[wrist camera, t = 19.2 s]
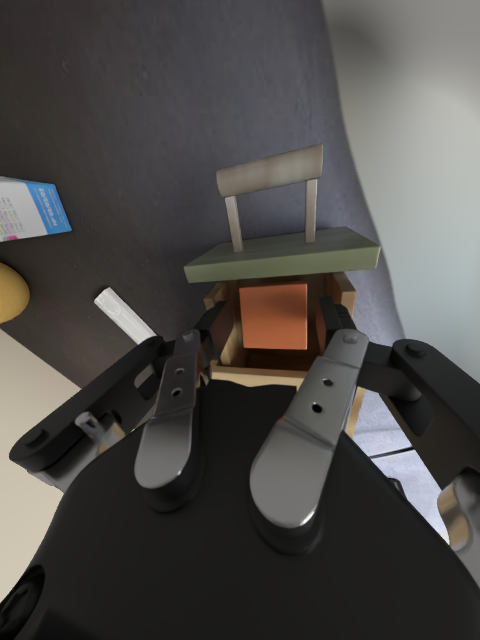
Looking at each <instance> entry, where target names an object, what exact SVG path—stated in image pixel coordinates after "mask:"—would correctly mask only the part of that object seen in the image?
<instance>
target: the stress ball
mask: <svg viewBox="0 0 480 640" xmlns="http://www.w3.org/2000/svg"><path fill="white" fill-rule="evenodd" d="M29 298H30V292H29V288H28V285H27V283H26V282H25V280H24V279H23V278H22V276H21V275H20V274H18V273H17V272H16V271H15V270H13V269H12V268H10V267H9V266H7V265H5V264H3V263H1V262H0V323H3V322H6V321H8V320H10V319H12V318H14V317H16V316H17V315H19V314H20V313H21V312H22V311H23V310H24V309H25V308H26V306H27V304H28V302H29Z"/></svg>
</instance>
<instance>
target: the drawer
mask: <svg viewBox="0 0 480 640" xmlns="http://www.w3.org/2000/svg"><path fill="white" fill-rule="evenodd" d="M322 165H323V145H322V144H317V145H313V146H309V147H305V148H301V149H297V150H293V151H289V152H286V153H282V154H278V155H274V156H270V157H266V158H262V159H258V160H254V161H250V162H247V163H243V164H239V165H235V166H231V167H227V168H223V169H219V170H218V171H217V173H216V179H217V186H218V190H219V192H220V195H221V196H222V198H225V202H226V208H227V214H228V220H229V226H230V231H231V237H232V242H227V243H220V244H219V245H217V246H215V247H214V248H212V249H211V250H209V251H208V252H206V253H204V254H203V255H201V256H200V257H198V258H197V259H195V260H194V261H192V262H190V263H189V264H187V265H186V266H184V271H185V274H186V277H187V280H188V283H198V282H211V281H219V282H218V283H217V284H216V285H215V286H214V287H213V288H212V290H211V291H210V292H209V293H208V294H207V295H206V296H205V298H204V303H205V306H206V310H207V311H208V310H209V309H210V308H213V307H214V306H215V304H216V303H217V302H218V301H227V300H228V301H229V302H230V305H231V310H232V314H233V319H234V327H233V330H232V332H231V334H230V336H229V338H228V341H227V343H226V345H225V347H224V349H223V351H222V354H221V356H220V358H221V362H222V365H223V367H240V368H256V369H273V370H289V371H306V372H308V371H309V370H310V368H311V366H312V364H313V362H314V361H315V359H316V357H317V356H318V355H320V356H321V352H320V346H319V340H318V334H317V329H316V310H317V297H320V296H331V297H332V300H333V303H334V304H342V305H343V306H345V307H346V308H347V309H348V312H349V314H350V316H351V318H352V316H353V310H354V304H355V298H356V290H355V288H354V287H353V285H352V284H351V282H350V281H349V279H348V278H347V276H346V275H345V273H344V272H343V271H354V270H367V269H376V267H377V262H378V258H379V253H380V248H381V247H380V246H379V245H378V244H376V243H374V242H372V241H371V240H369V239H367V238H365V237H364V236H362V235H360V234H358V233H357V232H355V231H353V230H351V229H350V228H348V227H346V226H344V227H337V228H329V229H322V230H315V222H316V196H317V179H318V178H320V177H321V173H322ZM303 181H306V190H305V232H300V233H293V234H285V235H278V236H271V237H263V238H256V239H249V240H242V237H241V231H240V224H239V217H238V210H237V203H236V197H235V196H236V195H241V194H246V193H250V192H255V191H260V190H265V189H270V188H274V187H279V186H284V185H289V184H294V183H298V182H303ZM301 280H303V281H304V282H305V283H307V349H306V350H304V349H269V348H244V344H243V331H242V319H241V306H240V293H239V288H240V287H244V286H247V285H250V284H257V283H272V282H286V281H301Z"/></svg>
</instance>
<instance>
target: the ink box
mask: <svg viewBox="0 0 480 640" xmlns="http://www.w3.org/2000/svg"><path fill="white" fill-rule="evenodd" d="M69 231H72V229H71V226H70V224H69V221H68V219H67V216H66V214H65V211H64V208H63V206H62V203H61V201H60V198H59V195H58V193H57V190H56V186H55V185H54V184H48V183H40V182H34V181H27V180H21V179H15V178H9V177H2V176H0V242H2V241H9V240H15V239H22V238H29V237H36V236H42V235H49V234H56V233H62V232H69Z"/></svg>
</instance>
